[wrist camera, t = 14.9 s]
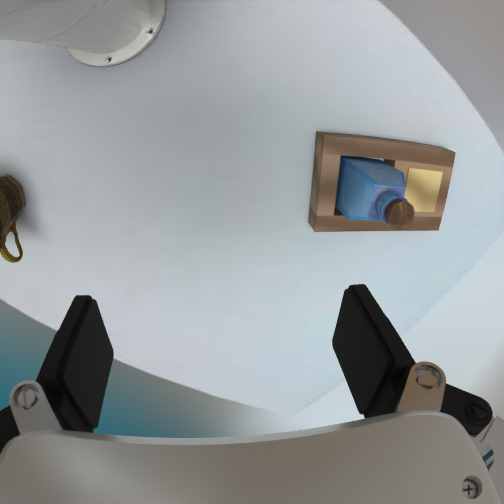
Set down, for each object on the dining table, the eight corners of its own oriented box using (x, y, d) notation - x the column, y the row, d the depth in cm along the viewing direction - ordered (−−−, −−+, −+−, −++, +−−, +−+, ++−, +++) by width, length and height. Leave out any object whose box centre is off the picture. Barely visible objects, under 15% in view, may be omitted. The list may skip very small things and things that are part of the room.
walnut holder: (316, 131, 36) (324, 135, 33) (442, 147, 38) (456, 152, 35) (308, 222, 42) (315, 232, 39) (427, 221, 44) (439, 231, 41)
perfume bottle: (330, 199, 40) (369, 243, 30) (337, 153, 37) (382, 183, 27) (371, 202, 41) (417, 244, 31) (379, 159, 38) (432, 190, 28)
